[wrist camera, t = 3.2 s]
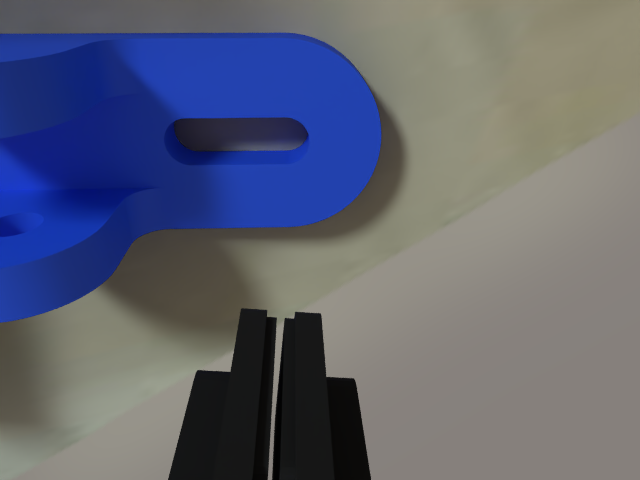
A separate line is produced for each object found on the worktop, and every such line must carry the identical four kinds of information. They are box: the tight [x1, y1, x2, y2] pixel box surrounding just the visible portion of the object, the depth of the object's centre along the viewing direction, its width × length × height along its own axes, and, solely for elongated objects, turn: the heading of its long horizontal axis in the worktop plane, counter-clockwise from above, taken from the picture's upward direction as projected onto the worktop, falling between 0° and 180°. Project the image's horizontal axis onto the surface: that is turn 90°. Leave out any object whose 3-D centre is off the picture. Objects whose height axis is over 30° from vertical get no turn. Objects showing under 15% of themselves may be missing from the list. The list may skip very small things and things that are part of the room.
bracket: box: [0, 33, 381, 323], centre depth 19 cm, size 18×8×9 cm, turn 90°
